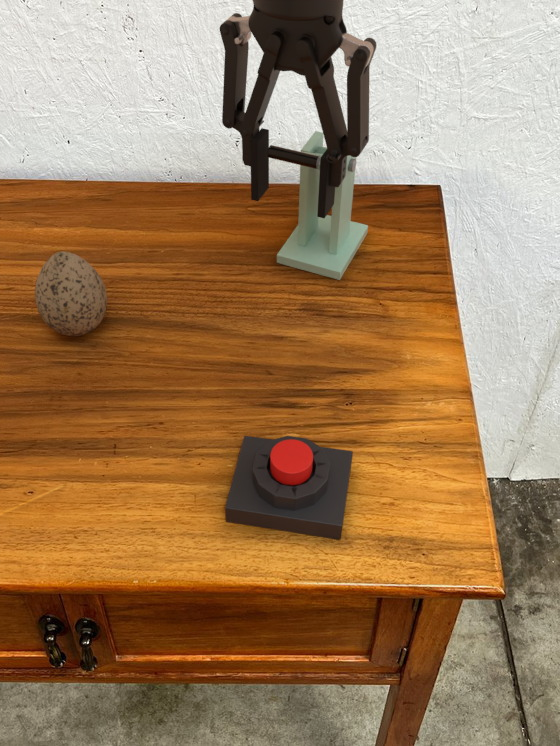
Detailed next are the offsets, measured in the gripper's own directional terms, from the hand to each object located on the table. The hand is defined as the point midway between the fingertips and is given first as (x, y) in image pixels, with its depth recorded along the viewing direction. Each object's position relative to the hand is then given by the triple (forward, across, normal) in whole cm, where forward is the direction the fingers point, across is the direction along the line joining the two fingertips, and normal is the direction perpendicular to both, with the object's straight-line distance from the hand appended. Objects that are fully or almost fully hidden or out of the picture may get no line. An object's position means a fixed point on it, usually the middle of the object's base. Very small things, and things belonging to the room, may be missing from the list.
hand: (292, 201), depth 78 cm
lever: (-1, 0, -5) cm, 5 cm away
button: (+9, -10, +24) cm, 28 cm away
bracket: (+13, 0, -10) cm, 17 cm away
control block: (+13, -10, +24) cm, 29 cm away
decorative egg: (+13, +19, +14) cm, 27 cm away
